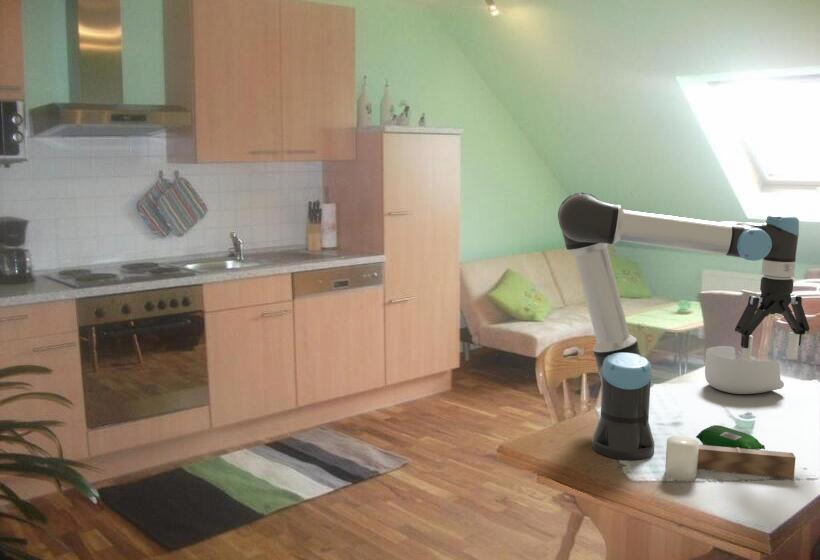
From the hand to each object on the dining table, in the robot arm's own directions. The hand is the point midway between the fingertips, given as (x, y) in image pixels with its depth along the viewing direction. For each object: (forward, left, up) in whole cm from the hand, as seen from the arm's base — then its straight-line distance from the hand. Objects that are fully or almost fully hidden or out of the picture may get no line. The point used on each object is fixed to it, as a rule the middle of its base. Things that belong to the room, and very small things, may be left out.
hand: (769, 359), depth 209 cm
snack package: (-10, -10, -22) cm, 26 cm away
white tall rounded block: (-22, -29, -22) cm, 42 cm away
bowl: (0, +47, -22) cm, 52 cm away
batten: (-8, -23, -22) cm, 33 cm away
